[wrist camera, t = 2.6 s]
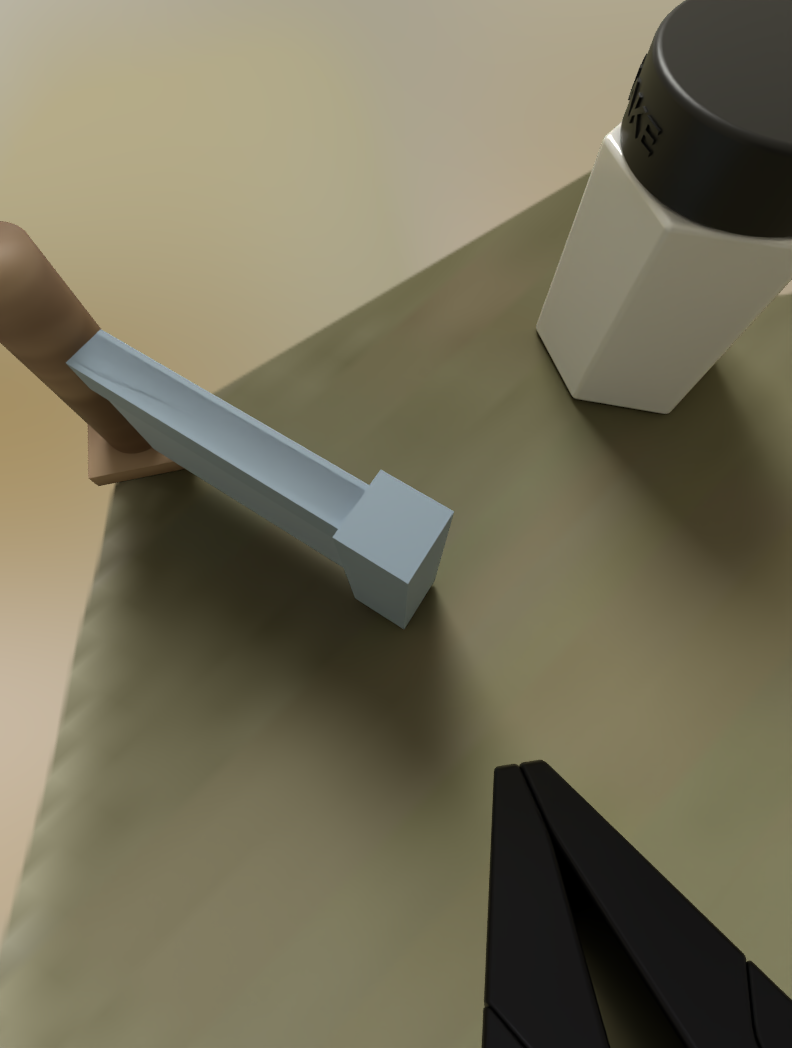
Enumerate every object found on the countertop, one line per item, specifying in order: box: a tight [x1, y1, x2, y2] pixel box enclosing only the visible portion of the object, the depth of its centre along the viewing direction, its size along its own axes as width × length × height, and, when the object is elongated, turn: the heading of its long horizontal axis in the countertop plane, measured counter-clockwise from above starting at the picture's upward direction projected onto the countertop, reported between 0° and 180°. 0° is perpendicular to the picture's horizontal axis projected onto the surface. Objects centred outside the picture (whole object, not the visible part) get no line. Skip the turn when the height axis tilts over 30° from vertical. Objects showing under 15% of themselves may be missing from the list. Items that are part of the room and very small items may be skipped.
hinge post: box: [0, 221, 185, 486], centre depth 19 cm, size 4×4×10 cm
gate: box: [66, 329, 454, 629], centre depth 18 cm, size 13×2×8 cm, turn 58°
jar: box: [536, 0, 792, 414], centre depth 20 cm, size 9×8×12 cm
